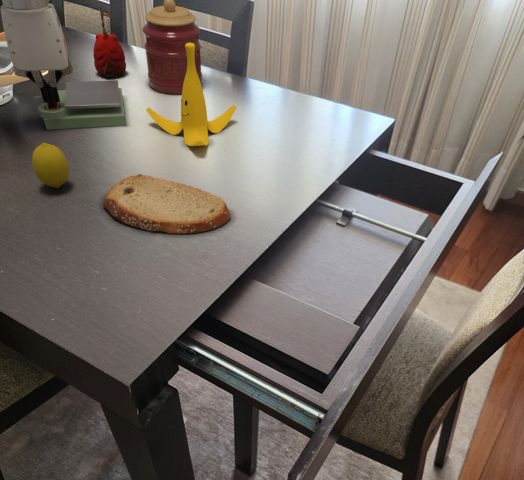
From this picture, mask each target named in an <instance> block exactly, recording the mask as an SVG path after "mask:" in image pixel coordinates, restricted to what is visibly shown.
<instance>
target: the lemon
mask: <svg viewBox="0 0 524 480" xmlns="http://www.w3.org/2000/svg"><path fill="white" fill-rule="evenodd" d="M31 160H32V161H31V163H32V168H33V171H34V173H35V175H36V177H37V179H38V180H39V181H40V182H41V183H42V184H44V185H46V186H48V187H52V188H55V189H59V188H60V187H61V186H63V185H64V184H65V183H66V182H67V181H68V178H69V176H70V169H69V163H68V160H67V158H66V155H65V154H64V152H63V151H62V150H61V149H60V148H59V147H58V146H57V145H54V144H50V143H47V142H42V143H41V144H40V145H38V146H37V147H35V149H34V151H33V152H32V157H31Z"/></svg>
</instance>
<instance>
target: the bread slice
mask: <svg viewBox="0 0 524 480" xmlns="http://www.w3.org/2000/svg"><path fill="white" fill-rule="evenodd" d="M102 206H103V208H104V209H106V210H107V211H108V212H109V214H111V216H112V217H114V218H115V219H117V220H118V221H119V222H121V223H123V224H125V225H129V226H132V227H134V228H138V229H141V230H146V231H148V232H164V233H167V234H176V235H177V234H178V235H179V234H180V235H182V234H195V233H196V234H199V233H202V232H207V231H210V230H214V229H217V228H219V227H221V226H223V225H225V224H226V223H227V222H228V221H231V217H232V216H231V211H230V210H229V208H228V206H227V203H226V202H225V201H224V199H222V197H220V196H217V195H215V194H212V193H211V192H209V191H205V190H203V189H202V190H201V189H200V188H198V187H193V186H191V185H187V184H185V183H181V182H176V181H173V180H167V179H165V178H159V177H155V176H151V175H144V174H142V173H139V174H136V175H130V176H127V177H126V178H122V179H121V180H120V181H119V182H117V183H115V184H114V185H113V186H112V187H111V188H110V189H109V190H108V192H107V193H106V194H105V196H104V199H103V202H102Z"/></svg>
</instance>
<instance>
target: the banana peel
mask: <svg viewBox="0 0 524 480" xmlns="http://www.w3.org/2000/svg"><path fill="white" fill-rule="evenodd" d="M185 48H186V52H187V72H186V76H185V80H184V84H183V90H182V94H181V100H180V121H178V122H176V121H173V120H170V119H168V118H166V117H164V116H162V115H160V114H159V113H158V112H156V111H154V110H153V109H152V108H151V107H147V108H146V109H145V111H146V112H147V114H148V115H149V117H150V118H151V119H152V120H153V121H154V123H156V124H157V126H159V127H160V128H161V129H163V130H164V131H165V132H167V133H168V134H169V135H172V136H173V135H178V134H180V133H181V132H182V131H183V139H184V144H185V145H186V146H188V147H198V146H199V147H201V146H208V145H209V144H210V139H209V132H211V133H213V134H219V133H220V132H221V131H222V130H223V129H224V128H225V127H226V126H227V124H228V123H229V122H230V120H231V119H232V117H233V115H234V114H235V112H236V109H237V106H236V105H235V104H232V105H231V106H230V107H229V108H228V109H227V110H226V111H224V113H222V114H221V115H219V116H217V117H216V118H214V119H212V120H209V121H208V111H207V105H206V104H207V103H206V99H205V94H204V91H203V86H202V82H201V83H200V80H199V77H198V74H197V71H196V67H195V59H194V53H195V44H194V43H186V44H185Z"/></svg>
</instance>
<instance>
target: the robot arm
mask: <svg viewBox="0 0 524 480" xmlns="http://www.w3.org/2000/svg"><path fill="white" fill-rule="evenodd" d="M1 2H2V5H0V14H1V15H0V16H1V21H2V27H3V32H4V37H5V41H6V45H7V49H8V54H9V58H10V60H11V63H12V65H13V72H14V75H15V76H16V77H21V78H27V79H28V80H30V81H31V82H33V83H34V84H35V85H36V86H37V88H39V90H40V93H41V97H42V100H43V101H42V102H43V103H47V104H48V108H49V109H52V108H57V104H58V102H60V98H59V94H58V90H59V89H58V87H57V84H58V83H59V82H60V80H61V79H62V77H66V76H69V75H73V73H74V69H73V66H72V64H71V62H70V55H69V50H68V46H67V43H66V38H65V34H64V32H63V28H62V25H61V22H60V21H61V20H60V18H59V16H58V13H57V11H56V8H55V5H54V4H53V3H49V2H50V0H1ZM42 71H43V72H44V71H47V73H48V81H47V80H45V78H44V75H43V73H42Z"/></svg>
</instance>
